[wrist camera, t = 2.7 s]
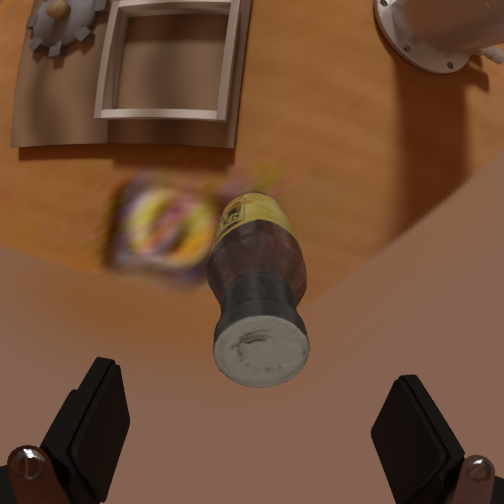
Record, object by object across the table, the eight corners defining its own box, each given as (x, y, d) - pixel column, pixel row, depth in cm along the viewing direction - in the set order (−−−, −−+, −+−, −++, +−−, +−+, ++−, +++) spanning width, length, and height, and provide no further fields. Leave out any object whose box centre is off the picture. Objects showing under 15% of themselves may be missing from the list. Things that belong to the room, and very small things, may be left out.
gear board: (256, -32, 22) (257, -55, 18) (234, 148, 29) (232, 149, 24) (44, -9, 21) (24, -21, 17) (18, 147, 28) (-8, 150, 23)
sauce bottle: (229, 182, 30) (200, 253, 11) (293, 198, 30) (364, 290, 12) (214, 247, 32) (176, 388, 13) (275, 261, 32) (308, 410, 14)
